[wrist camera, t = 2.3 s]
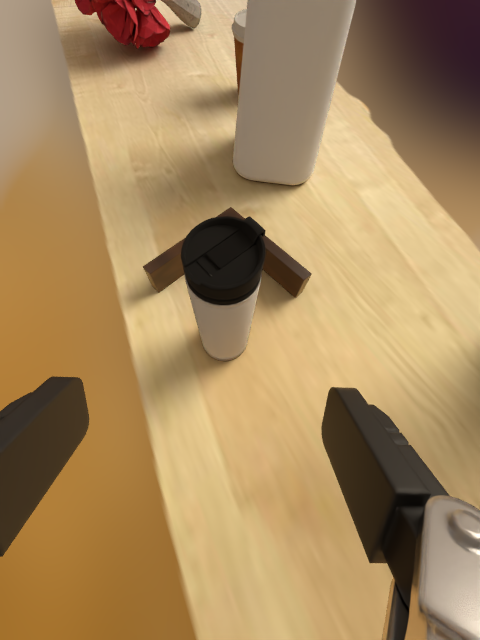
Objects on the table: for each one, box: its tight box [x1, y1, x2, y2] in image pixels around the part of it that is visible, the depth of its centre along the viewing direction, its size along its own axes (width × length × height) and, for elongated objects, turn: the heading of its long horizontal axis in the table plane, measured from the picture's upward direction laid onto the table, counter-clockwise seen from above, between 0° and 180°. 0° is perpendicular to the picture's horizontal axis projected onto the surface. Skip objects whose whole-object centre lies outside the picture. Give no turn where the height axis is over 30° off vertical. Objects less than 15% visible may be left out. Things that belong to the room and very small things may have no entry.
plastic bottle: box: [233, 0, 356, 185], centre depth 39 cm, size 15×15×28 cm
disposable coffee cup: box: [232, 9, 247, 95], centre depth 55 cm, size 10×10×12 cm
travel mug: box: [181, 216, 266, 361], centre depth 28 cm, size 6×7×20 cm
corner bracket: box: [143, 207, 311, 298], centre depth 38 cm, size 16×16×5 cm
